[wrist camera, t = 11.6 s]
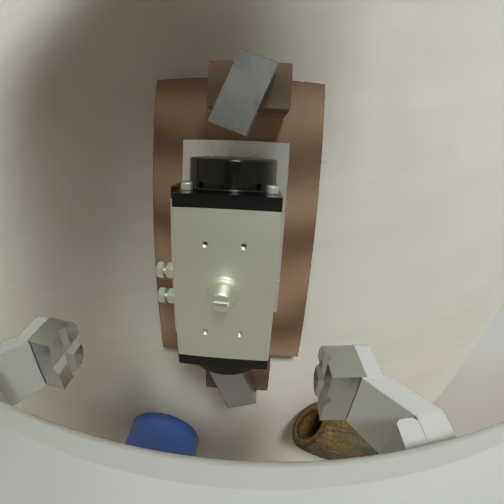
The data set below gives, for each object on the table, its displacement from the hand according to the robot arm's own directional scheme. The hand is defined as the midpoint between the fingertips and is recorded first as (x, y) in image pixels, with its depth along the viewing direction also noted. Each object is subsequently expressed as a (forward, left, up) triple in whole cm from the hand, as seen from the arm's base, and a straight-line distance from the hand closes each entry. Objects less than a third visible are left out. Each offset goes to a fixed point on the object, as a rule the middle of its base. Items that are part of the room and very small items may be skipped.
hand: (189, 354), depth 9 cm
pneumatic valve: (0, 0, -16) cm, 16 cm away
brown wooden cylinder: (+20, +21, -18) cm, 34 cm away
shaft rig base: (0, 0, -18) cm, 18 cm away
